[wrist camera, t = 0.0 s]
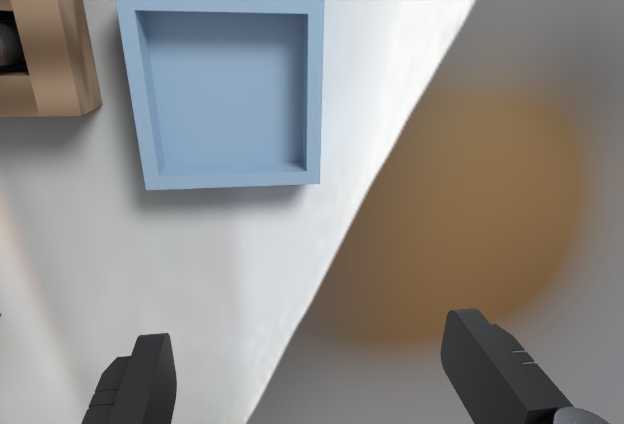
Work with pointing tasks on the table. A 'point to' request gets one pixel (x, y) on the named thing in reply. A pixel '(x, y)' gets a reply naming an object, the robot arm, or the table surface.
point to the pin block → (50, 61)
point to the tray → (225, 90)
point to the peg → (10, 44)
